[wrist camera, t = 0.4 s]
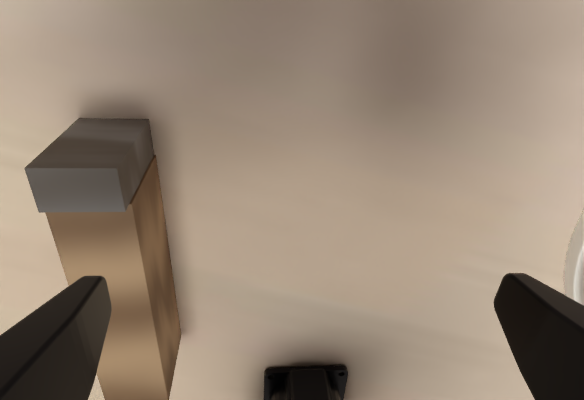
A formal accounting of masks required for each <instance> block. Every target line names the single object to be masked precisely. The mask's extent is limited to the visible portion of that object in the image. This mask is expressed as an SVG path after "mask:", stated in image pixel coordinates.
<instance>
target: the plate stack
mask: <svg viewBox="0 0 584 400" xmlns="http://www.w3.org/2000/svg"><path fill="white" fill-rule="evenodd" d="M564 290H565V295H566V296H567V297H569V298H571V299H573V300H575V301H576V302H578V303H580V304H582V305H584V209H583V211H582V213H581V215H580V217H579V219H578V221H577V224H576V226H575V228H574V231H573V234H572V236H571V239H570V243H569V246H568V250H567V254H566V259H565V265H564Z"/></svg>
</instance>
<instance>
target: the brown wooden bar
mask: <svg viewBox="0 0 584 400" xmlns="http://www.w3.org/2000/svg"><path fill="white" fill-rule="evenodd" d="M25 171H26V174H27V177H28V181H29V184H30V187H31V190H32V193H33V196H34V199H35V202H36V205H37V208H38V211H39V212H45V213H46V216H47V219H48V222H49V225H50V228H51V232H52V235H53V238H54V241H55V244H56V247H57V250H58V253H59V257H60V260H61V263H62V266H63V269H64V272H65V275H66V279H67V282H68V285H69V286H70V285H71V284H73V283H74V282H75V281H77V280H78V279H79V278H81V277H83V276H103V277H105V279H106V282H107V286H108V291H109V295H110V300H111V305H112V311H111V317H110V321H109V325H108V329H107V333H106V337H105V341H104V345H103V349H102V353H101V357H100V361H99V365H98V369H97V376H98V379H99V382H100V385H101V388H102V392H103V395H104V398H105V400H169V396H170V391H171V386H172V380H173V375H174V370H175V365H176V359H177V354H178V349H179V344H180V339H181V331H180V324H179V317H178V310H177V303H176V296H175V289H174V282H173V274H172V267H171V260H170V253H169V246H168V239H167V232H166V225H165V217H164V210H163V203H162V196H161V189H160V182H159V175H158V168H157V161H156V155H154V153H153V146H152V139H151V132H150V125H149V119H82V118H79V119H78V120H77V121H75V122H74V123H73V124H72V125H71V126H70V127H69V128H68V129H67V130H66V131H65V132H63V133H62V134H61V135H60V136H59V137H58V138H57V139H56V140H55V141H54V142H53V143H51V144H50V145H49V146H48V147H47V148H46V149H45V150H44V151H43V152H42V153H41V154H39V155H38V156H37V157H36V158H35V159H34V160H33V161H32V162H31V163H30V164H29V165H27V166H26V167H25Z"/></svg>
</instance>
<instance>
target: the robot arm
mask: <svg viewBox="0 0 584 400" xmlns="http://www.w3.org/2000/svg"><path fill="white" fill-rule="evenodd" d="M494 308H495V311H496V314H497V316H498V319H499V321H500V324H501V326H502V329H503V331H504V333H505V336H506V338H507V341H508V343H509V346H510V348H511V351H512V353H513V356H514V358H515V360H516V363H517V365H518V367H519V369H520V372H521V374H522V376H523V378H524V380H525V382H526V383H527V385H528V387H529V389H530V391H531V393H532V395H533V397H534V399H535V400H584V305H582V304H580V303H578V302H576V301H575V300H573V299H571V298H569V297H567V296H565V295H564V294H562V293H560V292H558V291H556V290H554V289H553V288H551V287H549V286H547V285H545V284H543V283H542V282H540V281H538V280H536V279H534V278H532V277H531V276H529V275H527V274H524V273H508V274H506V275H505V276H504V277H503V279H502V281H501V284H500V286H499V289H498V291H497V294H496V296H495V299H494ZM111 311H112V305H111V300H110V295H109V291H108V286H107V282H106V279H105V277H103V276H83V277H81V278H79V279H78V280H77V281H75V282H74V283H73V284H71V285H70V286H68V287H67V288H66V289H64V290H63V291H61V292H60V293H59V294H57V295H56V296H54V297H53V298H52V299H50V300H49V301H47V302H46V303H45V304H43V305H42V306H41V307H39V308H38V309H36V310H35V311H34V312H32V313H31V314H29V315H28V316H27V317H25V318H24V319H22V320H21V321H20V322H18V323H17V324H15V325H14V326H13V327H11V328H10V329H8V330H7V331H6V332H4V333H3V334H2V335H0V400H88V398H89V395H90V392H91V389H92V386H93V383H94V380H95V376H96V373H97V369H98V365H99V361H100V357H101V353H102V349H103V345H104V341H105V337H106V333H107V329H108V325H109V321H110V317H111ZM347 376H348V371H347V368H346V367H345V366H318V367H295V368H272V369H267V370H266V371H265V373H264V400H343V398H344V393H345V387H346V382H347Z"/></svg>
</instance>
